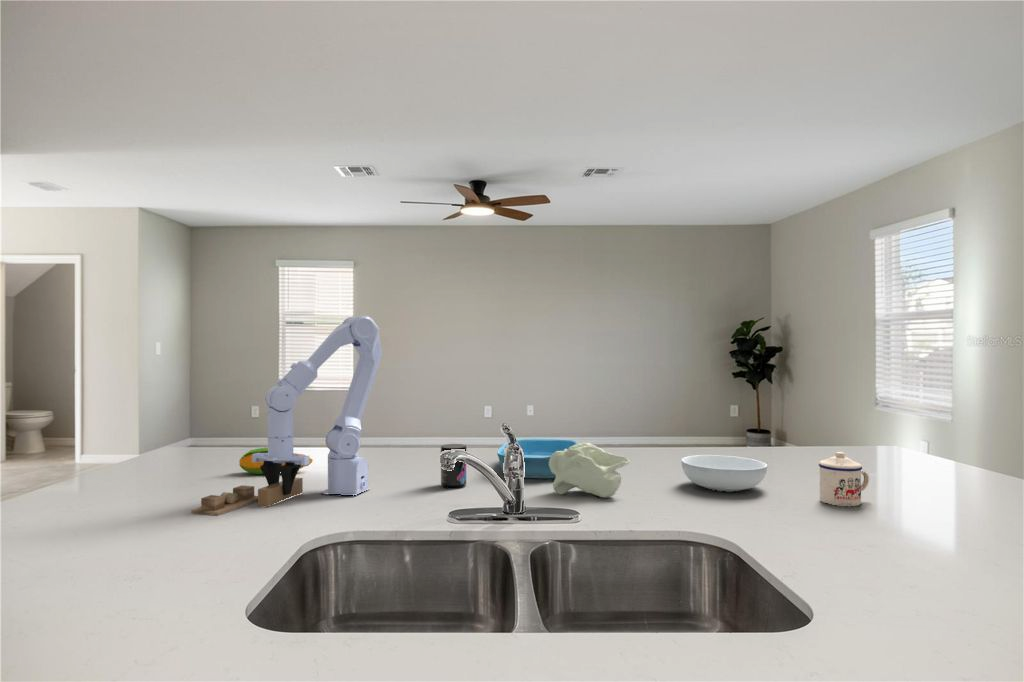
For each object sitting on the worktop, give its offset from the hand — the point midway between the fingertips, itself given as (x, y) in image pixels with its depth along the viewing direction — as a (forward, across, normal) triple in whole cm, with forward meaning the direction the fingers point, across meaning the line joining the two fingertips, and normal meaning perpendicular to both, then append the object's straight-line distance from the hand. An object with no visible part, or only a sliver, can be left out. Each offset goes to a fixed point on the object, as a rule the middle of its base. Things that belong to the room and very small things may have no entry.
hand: (280, 493), depth 154 cm
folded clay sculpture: (+2, +69, +27) cm, 74 cm away
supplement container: (+2, +34, +25) cm, 42 cm away
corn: (+2, -20, +26) cm, 33 cm away
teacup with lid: (+2, +128, +36) cm, 133 cm away
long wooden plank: (+2, 0, 0) cm, 2 cm away
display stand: (+1, -8, -8) cm, 11 cm away
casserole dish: (+2, +50, +53) cm, 73 cm away
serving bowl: (+2, +101, +43) cm, 110 cm away
